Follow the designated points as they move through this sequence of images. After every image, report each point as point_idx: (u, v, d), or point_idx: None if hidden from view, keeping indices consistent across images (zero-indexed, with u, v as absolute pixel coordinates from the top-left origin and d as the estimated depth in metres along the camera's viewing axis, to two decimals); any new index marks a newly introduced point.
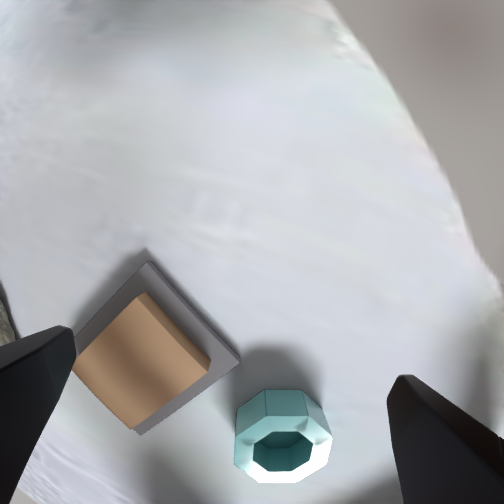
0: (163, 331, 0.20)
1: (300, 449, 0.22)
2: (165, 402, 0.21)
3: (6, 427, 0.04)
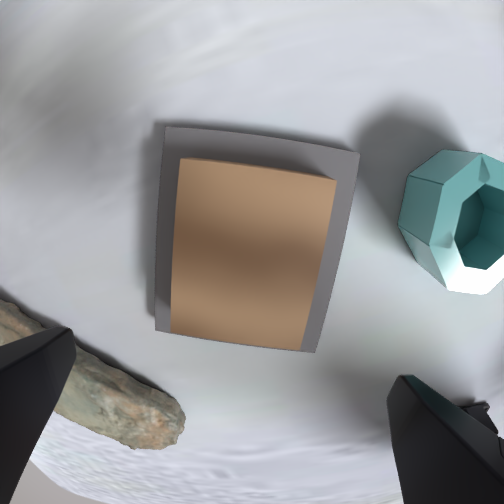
0: (244, 170, 0.13)
1: (493, 221, 0.14)
2: (316, 270, 0.15)
3: (6, 427, 0.04)
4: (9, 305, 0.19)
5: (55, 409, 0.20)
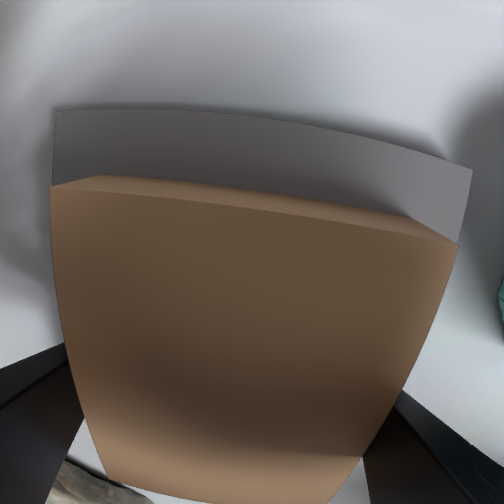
0: (211, 218, 0.05)
1: None
2: (376, 426, 0.06)
3: (37, 444, 0.04)
4: None
5: None
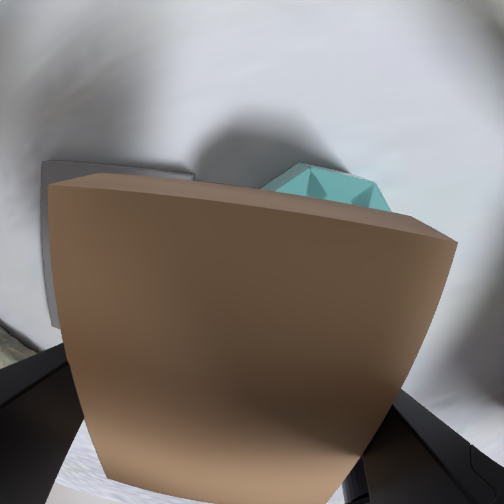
0: (209, 215, 0.04)
1: None
2: (375, 425, 0.06)
3: (37, 444, 0.04)
4: None
5: None
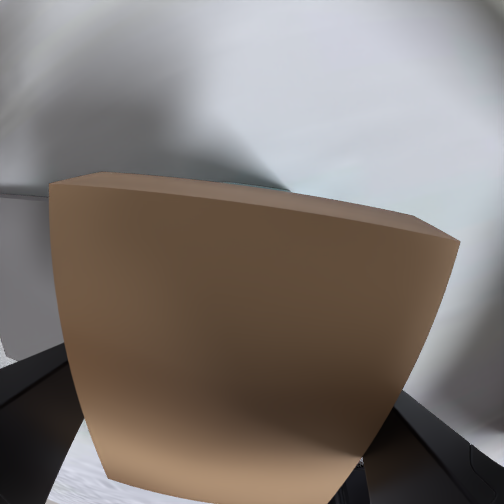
0: (212, 214, 0.04)
1: None
2: (377, 425, 0.06)
3: (37, 443, 0.04)
4: None
5: None
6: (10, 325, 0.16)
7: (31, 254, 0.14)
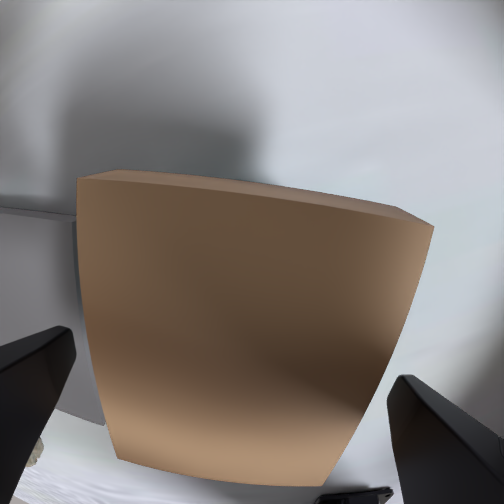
0: (220, 203, 0.05)
1: None
2: (368, 397, 0.07)
3: (6, 427, 0.04)
4: None
5: None
6: None
7: (3, 273, 0.12)
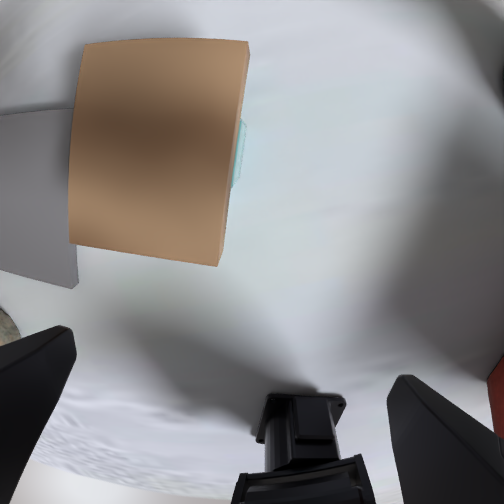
0: (143, 43, 0.10)
1: None
2: (228, 149, 0.11)
3: (6, 427, 0.04)
4: None
5: None
6: None
7: (16, 156, 0.16)
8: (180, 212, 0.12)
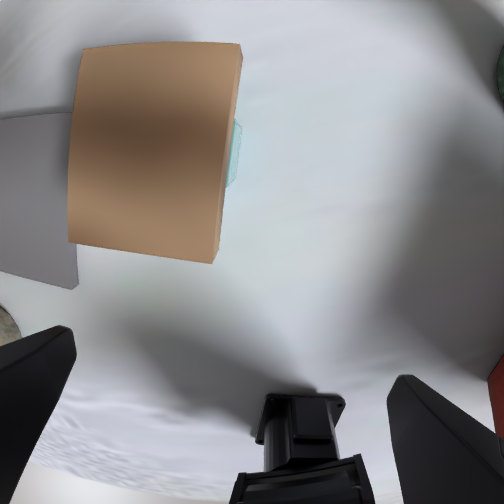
0: (139, 47, 0.10)
1: None
2: (221, 149, 0.12)
3: (6, 427, 0.04)
4: None
5: None
6: None
7: (18, 159, 0.17)
8: (175, 210, 0.12)
